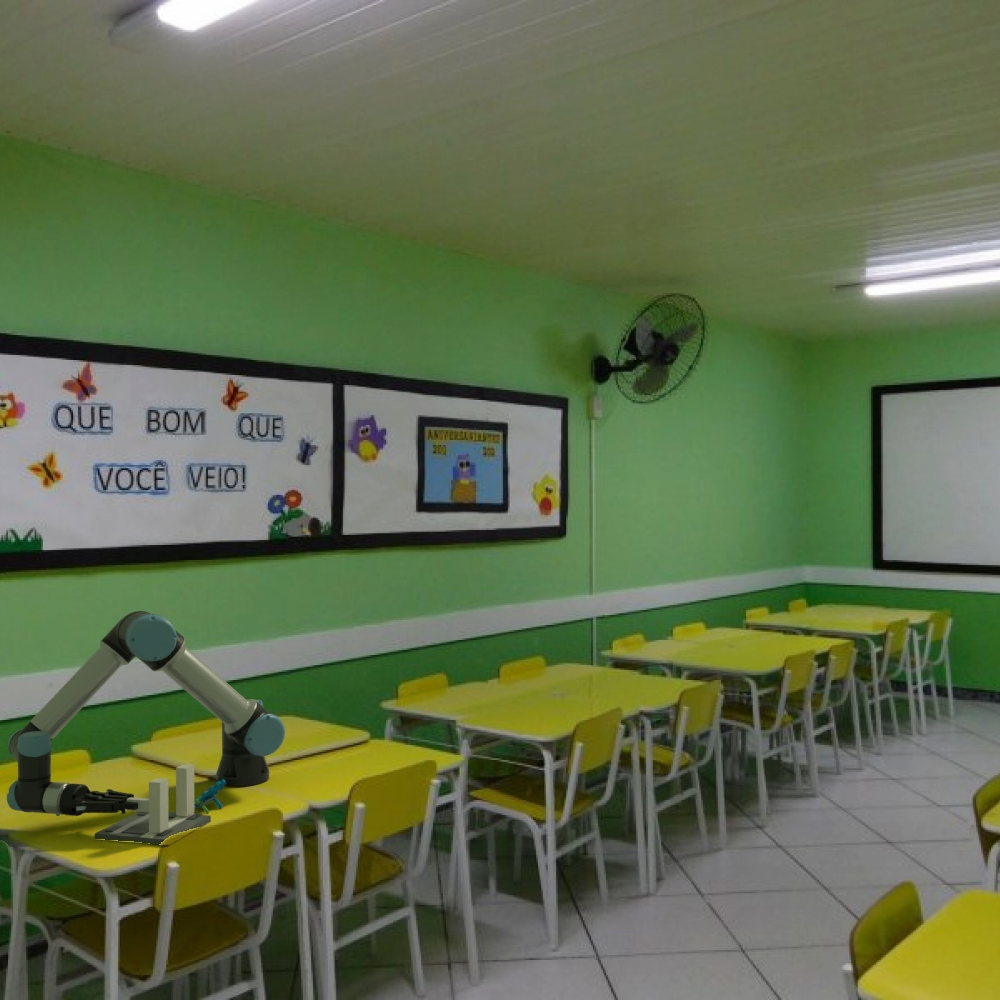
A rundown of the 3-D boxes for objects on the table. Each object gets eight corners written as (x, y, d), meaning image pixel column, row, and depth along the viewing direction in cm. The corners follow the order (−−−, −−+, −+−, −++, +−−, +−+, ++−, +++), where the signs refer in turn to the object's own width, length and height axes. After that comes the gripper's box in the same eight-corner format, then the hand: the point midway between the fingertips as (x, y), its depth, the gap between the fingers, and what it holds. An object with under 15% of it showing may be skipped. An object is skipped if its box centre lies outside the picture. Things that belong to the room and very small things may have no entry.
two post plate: (94, 839, 240) (94, 780, 240) (141, 816, 258) (141, 761, 258) (168, 846, 235) (167, 786, 235) (210, 821, 253) (210, 765, 253)
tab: (149, 832, 239) (148, 781, 239) (157, 827, 242) (157, 778, 242) (160, 833, 238) (159, 782, 238) (168, 828, 241) (168, 778, 241)
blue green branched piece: (211, 794, 272) (229, 772, 268) (224, 810, 271) (243, 788, 267) (182, 811, 262) (201, 788, 258) (196, 828, 261) (215, 805, 257)
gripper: (85, 806, 253) (167, 813, 247) (49, 822, 240) (135, 829, 234) (85, 776, 253) (167, 782, 247) (49, 791, 240) (135, 797, 234)
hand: (151, 805), depth 240 cm, fingers closed
